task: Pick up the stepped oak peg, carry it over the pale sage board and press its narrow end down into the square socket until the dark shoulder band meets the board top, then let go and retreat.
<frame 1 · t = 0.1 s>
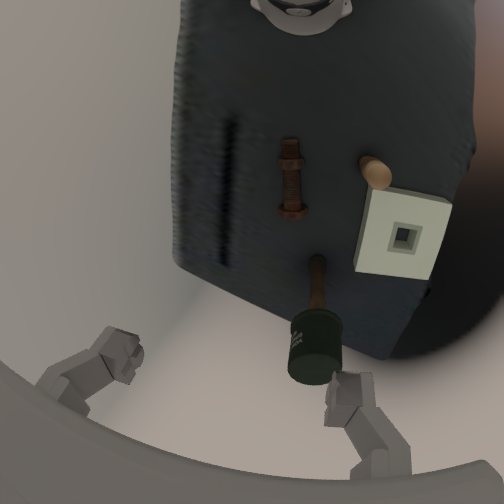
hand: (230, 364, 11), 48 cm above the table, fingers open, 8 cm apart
board: (400, 230, 54), on the table
peg: (366, 163, 49), on the table
bolt: (293, 175, 54), on the table
grenade: (317, 260, 62), on the table
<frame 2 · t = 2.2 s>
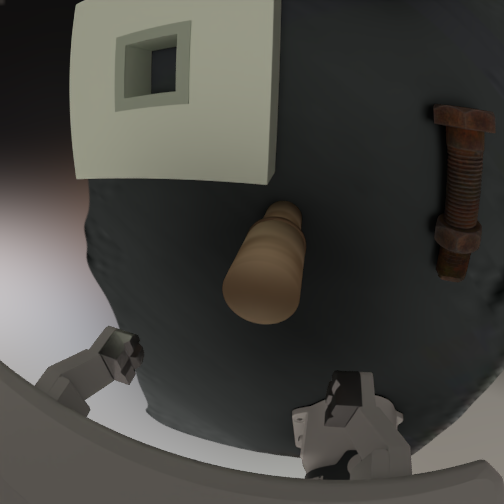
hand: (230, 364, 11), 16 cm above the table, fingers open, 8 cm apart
board: (173, 70, 20), on the table
peg: (283, 218, 25), on the table
bolt: (449, 189, 20), on the table
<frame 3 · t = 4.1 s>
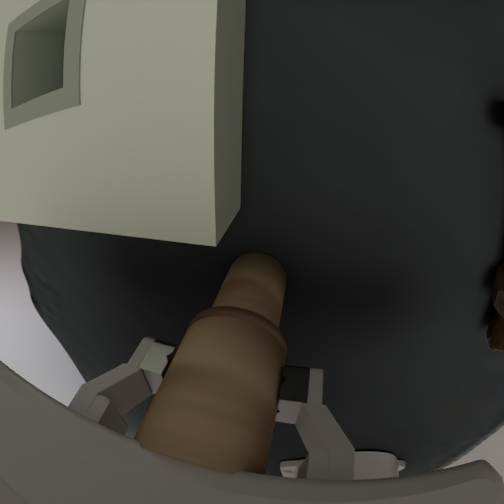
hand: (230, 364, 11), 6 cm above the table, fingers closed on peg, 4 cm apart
board: (88, 54, 11), on the table
peg: (257, 277, 16), on the table, touching gripper
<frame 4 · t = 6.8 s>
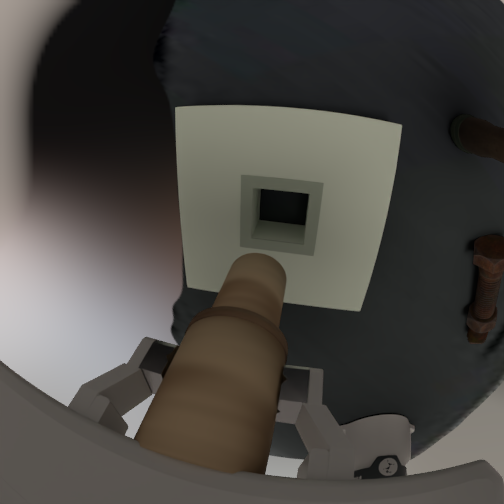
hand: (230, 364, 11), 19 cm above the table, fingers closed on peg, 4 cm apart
board: (283, 200, 27), on the table
peg: (257, 277, 16), point 13 cm above the table, touching gripper
bolt: (477, 286, 27), on the table
grenade: (461, 131, 19), on the table
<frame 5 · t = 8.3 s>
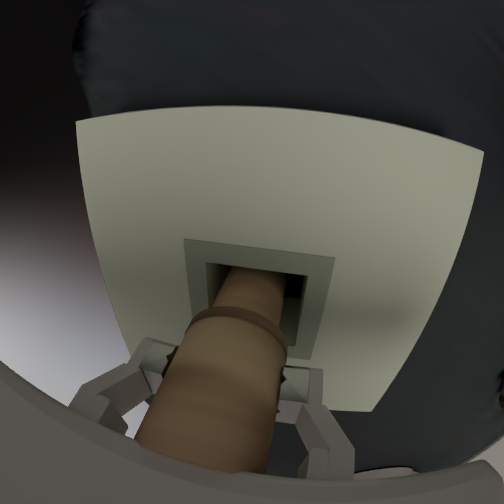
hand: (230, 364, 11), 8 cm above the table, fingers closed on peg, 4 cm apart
board: (266, 263, 17), on the table
peg: (257, 277, 16), point 2 cm above the table, touching gripper
when the fingers open (6 cm above the table, at t = 9.5 s): peg stays where it is, resting in board.
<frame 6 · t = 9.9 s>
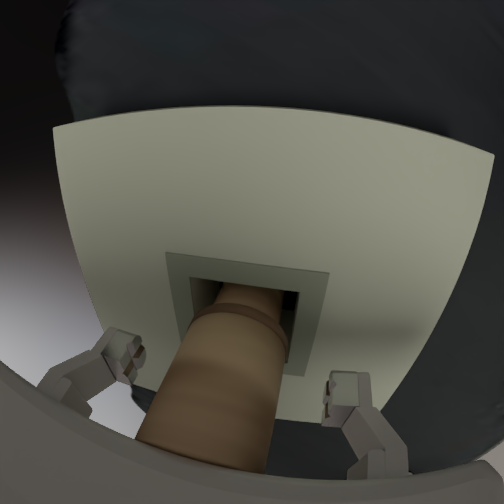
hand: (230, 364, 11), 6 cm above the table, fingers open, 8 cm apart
board: (258, 274, 16), on the table
peg: (258, 275, 16), resting in board
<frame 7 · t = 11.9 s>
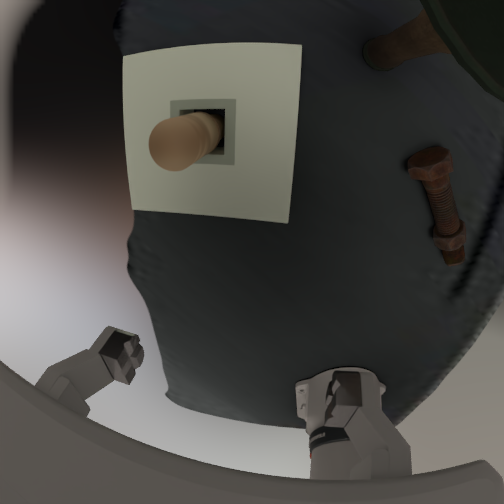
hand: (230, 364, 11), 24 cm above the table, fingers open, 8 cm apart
board: (213, 126, 29), on the table
peg: (213, 127, 29), resting in board
bolt: (436, 205, 29), on the table
grenade: (377, 56, 22), on the table
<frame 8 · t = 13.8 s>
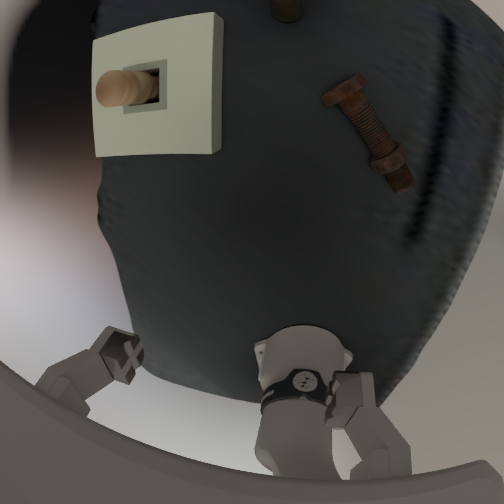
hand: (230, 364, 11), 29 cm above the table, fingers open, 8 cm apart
board: (159, 87, 32), on the table
peg: (159, 87, 32), resting in board
bolt: (371, 135, 31), on the table
grenade: (288, 12, 25), on the table
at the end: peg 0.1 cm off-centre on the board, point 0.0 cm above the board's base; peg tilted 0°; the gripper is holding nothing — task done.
